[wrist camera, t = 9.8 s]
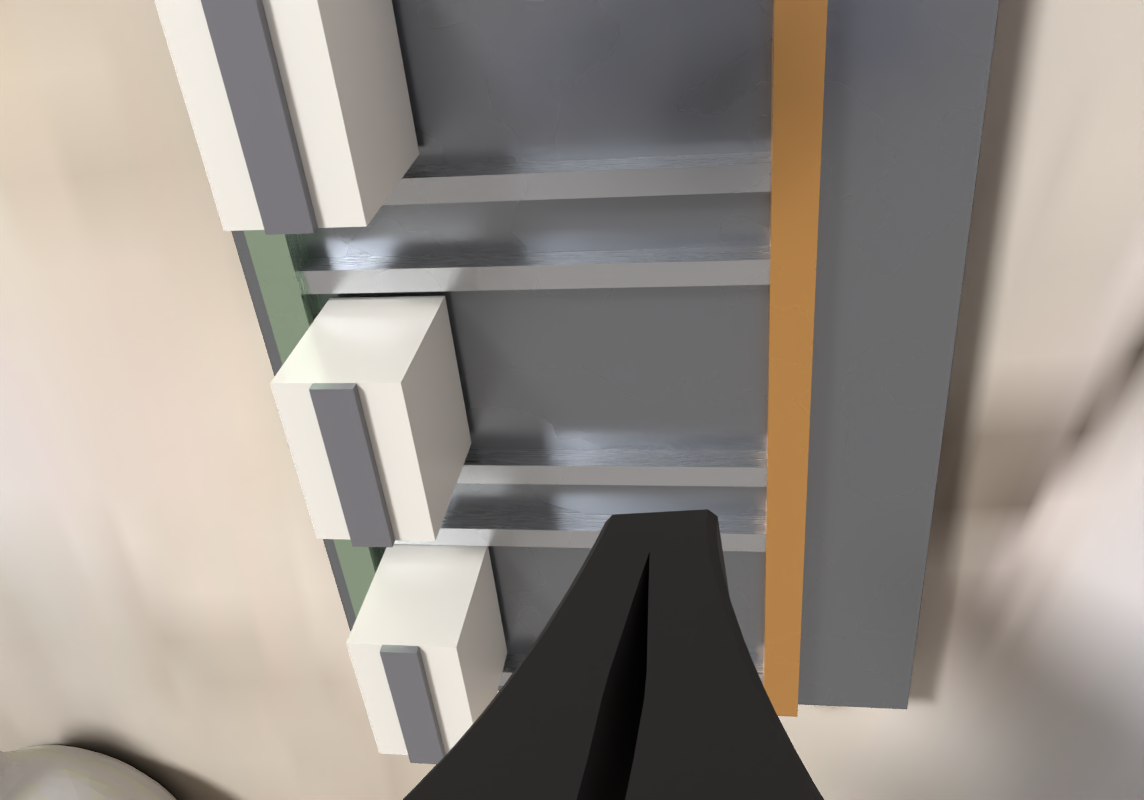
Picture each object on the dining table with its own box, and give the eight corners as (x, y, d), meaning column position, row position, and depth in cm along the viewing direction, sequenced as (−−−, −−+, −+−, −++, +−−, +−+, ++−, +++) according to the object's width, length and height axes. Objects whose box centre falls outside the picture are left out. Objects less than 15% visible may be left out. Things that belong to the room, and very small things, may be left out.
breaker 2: (444, 295, 20) (397, 388, 17) (471, 442, 22) (432, 548, 19) (330, 297, 21) (265, 389, 18) (366, 442, 22) (313, 545, 20)
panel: (1007, -249, 15) (1045, -245, 14) (899, 662, 26) (911, 735, 24) (159, -164, 18) (90, -150, 16) (382, 642, 29) (357, 708, 27)
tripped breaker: (487, 543, 24) (453, 654, 21) (506, 651, 26) (478, 766, 23) (388, 542, 24) (342, 650, 21) (415, 648, 26) (377, 760, 23)
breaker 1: (381, -59, 17) (308, -14, 14) (419, 154, 19) (362, 232, 16) (243, -49, 17) (145, -2, 14) (295, 159, 19) (218, 236, 16)
